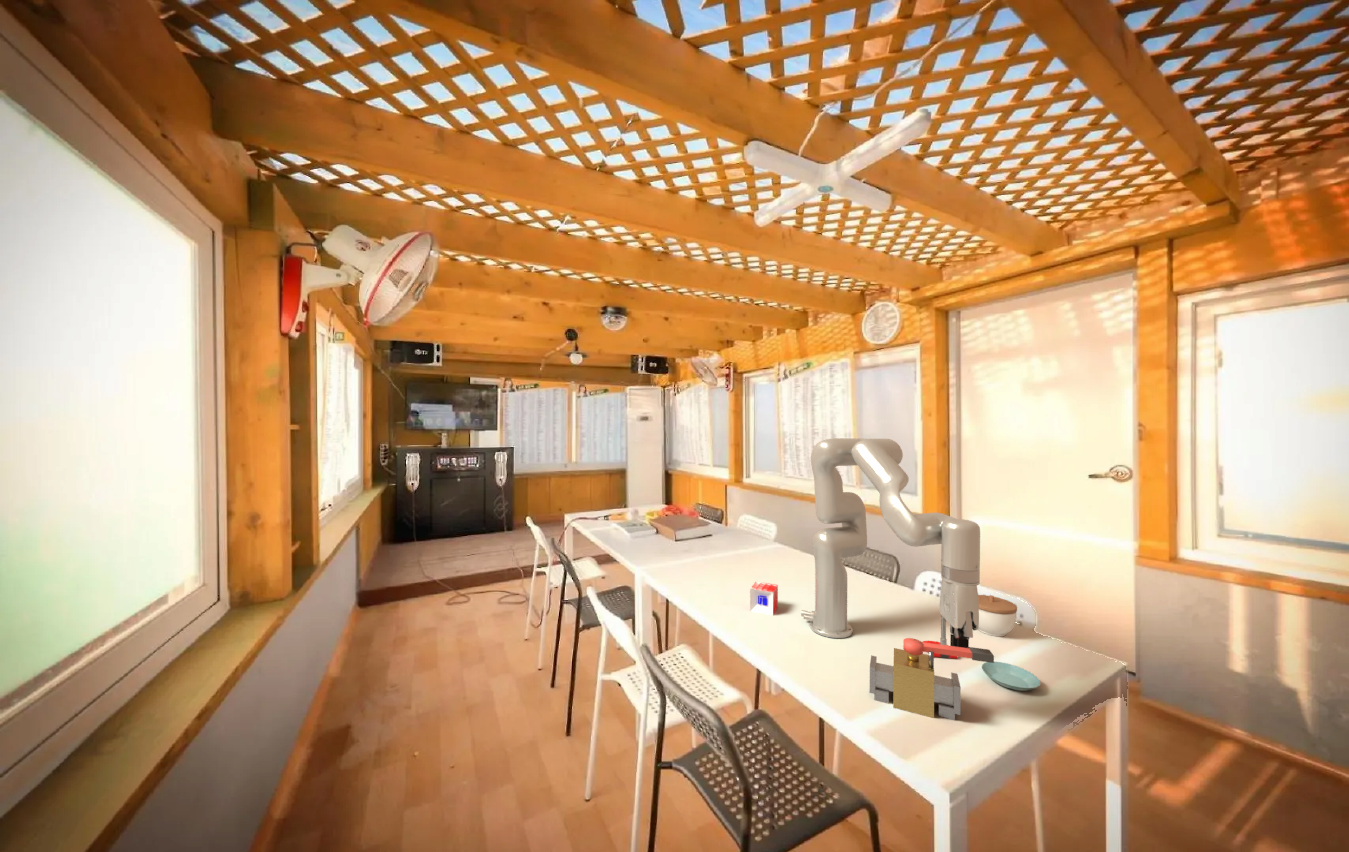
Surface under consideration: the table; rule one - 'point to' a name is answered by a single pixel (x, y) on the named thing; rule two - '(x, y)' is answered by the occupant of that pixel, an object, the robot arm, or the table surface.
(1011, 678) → the saucer
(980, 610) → the lidded bowl
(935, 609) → the table surface
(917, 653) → the lever
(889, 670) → the valve body
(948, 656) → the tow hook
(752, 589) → the white and red cube
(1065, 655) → the table surface
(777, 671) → the table surface
